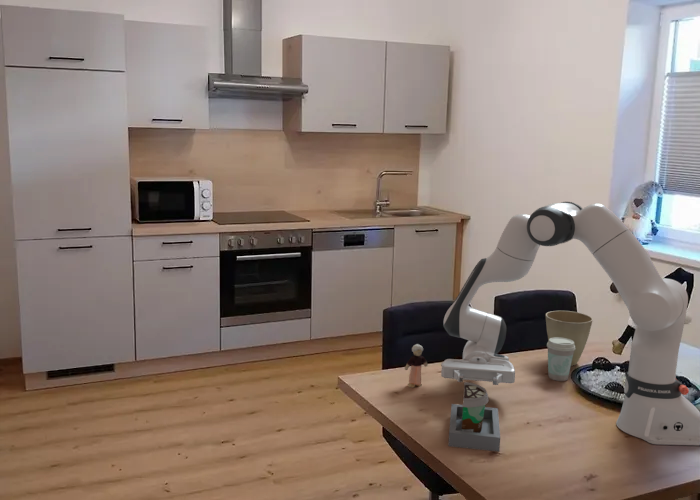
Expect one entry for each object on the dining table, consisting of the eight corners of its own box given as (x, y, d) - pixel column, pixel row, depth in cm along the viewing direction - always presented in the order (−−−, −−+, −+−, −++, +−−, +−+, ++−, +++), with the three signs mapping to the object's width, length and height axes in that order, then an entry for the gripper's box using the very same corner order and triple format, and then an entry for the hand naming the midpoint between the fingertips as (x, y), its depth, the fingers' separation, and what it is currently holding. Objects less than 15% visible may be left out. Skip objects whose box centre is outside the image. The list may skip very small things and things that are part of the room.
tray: (496, 420, 179) (497, 408, 179) (499, 451, 162) (500, 437, 161) (450, 416, 181) (451, 403, 181) (448, 446, 164) (449, 432, 163)
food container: (486, 440, 165) (489, 401, 163) (461, 437, 166) (463, 399, 164) (486, 420, 177) (488, 383, 175) (462, 417, 178) (464, 381, 176)
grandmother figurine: (411, 389, 199) (413, 348, 197) (402, 385, 202) (404, 344, 200) (429, 384, 204) (431, 343, 202) (420, 380, 207) (422, 340, 205)
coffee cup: (542, 379, 211) (545, 342, 209) (545, 371, 219) (548, 335, 217) (571, 384, 208) (574, 346, 206) (573, 375, 216) (577, 339, 214)
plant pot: (541, 353, 237) (545, 308, 234) (586, 358, 233) (591, 313, 231) (541, 366, 223) (545, 319, 220) (589, 372, 219) (594, 324, 216)
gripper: (442, 351, 199) (439, 366, 185) (513, 356, 195) (516, 372, 182) (441, 371, 200) (438, 388, 186) (512, 377, 196) (515, 395, 183)
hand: (477, 380), depth 184 cm, fingers open, 8 cm apart
